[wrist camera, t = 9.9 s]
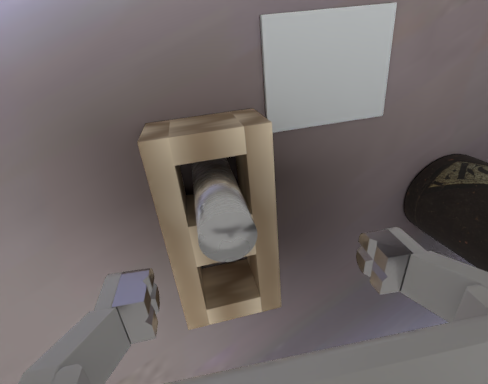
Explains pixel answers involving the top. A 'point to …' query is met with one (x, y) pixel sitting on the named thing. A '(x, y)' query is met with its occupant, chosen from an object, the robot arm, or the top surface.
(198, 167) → the peg
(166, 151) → the socket block
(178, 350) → the top surface
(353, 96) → the mat
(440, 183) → the container
